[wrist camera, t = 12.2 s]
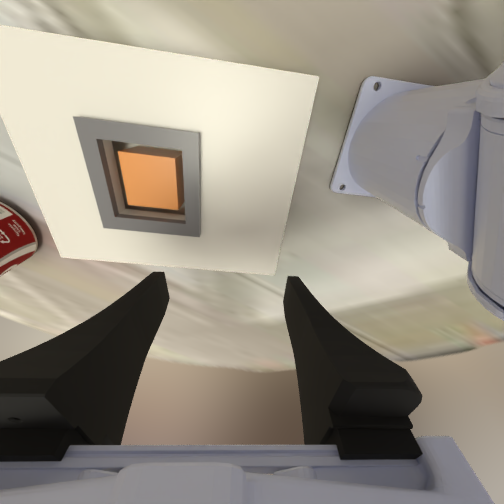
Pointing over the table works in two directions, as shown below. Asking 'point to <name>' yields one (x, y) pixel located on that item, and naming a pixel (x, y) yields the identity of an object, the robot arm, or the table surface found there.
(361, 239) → the table surface
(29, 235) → the soda can
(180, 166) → the button
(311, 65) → the table surface
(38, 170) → the box
